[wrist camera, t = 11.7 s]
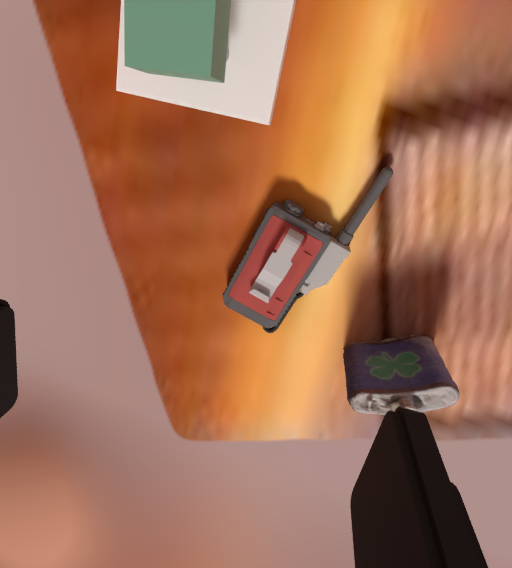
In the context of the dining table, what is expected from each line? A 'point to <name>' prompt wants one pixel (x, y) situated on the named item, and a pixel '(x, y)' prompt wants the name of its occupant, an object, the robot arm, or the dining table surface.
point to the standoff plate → (227, 66)
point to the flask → (397, 376)
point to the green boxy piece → (177, 37)
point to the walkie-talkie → (291, 259)
